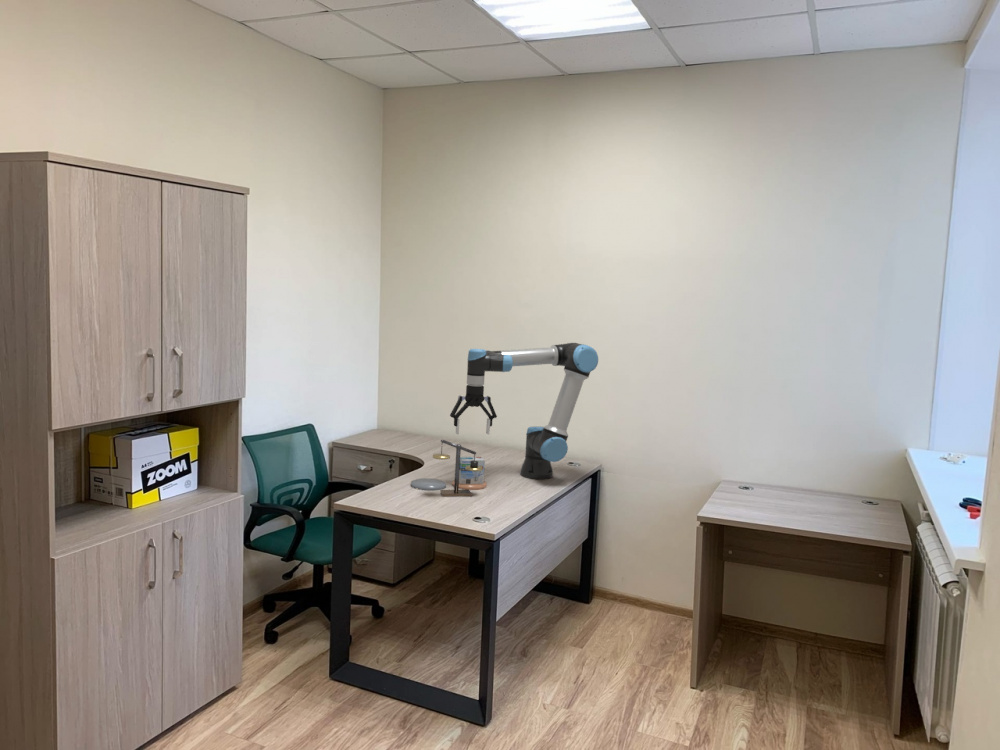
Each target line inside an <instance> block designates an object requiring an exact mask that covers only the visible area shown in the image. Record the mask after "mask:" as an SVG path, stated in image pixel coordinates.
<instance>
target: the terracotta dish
mask: <svg viewBox="0 0 1000 750" xmlns="http://www.w3.org/2000/svg"><path fill="white" fill-rule="evenodd" d="M454 482H455V479H453V480H452V482H451V485H452V487H454ZM487 483H488V482H487V481H485V480H483V484H460V483H459V488H458V490H467V489H469V491H478V490H484V489H486V488H487V487H488V486H487V485H488V484H487Z"/></svg>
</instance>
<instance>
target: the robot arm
mask: <svg viewBox="0 0 1000 750" xmlns="http://www.w3.org/2000/svg"><path fill="white" fill-rule="evenodd" d="M598 364H599V355H598V353H597V351H596V350H595V348H593V347H592V346H590V345H588V344H584V343H583V344H582V343H577V342H567V343H561V344H560V343H559V344H552V345H551V346H549V347H538V348H537V347H536V348H521V349H509V350H508V349H506V350H486V349H484V348H470V349H469V350H468V354H467V368H466V369H467V370H466V371H467V372H466V373H467V374H466V384H467V385H466V387H465V388H466V389H465V396H461V395H458V398H457V401H456V402H455V405H454V407H453V408H452V410H451V412H450V414H449V416H450V417H451V418H453V426H454V427H455V434H456V435H459V434H460V417H461V415H463V413H464V412H465V411H466V410H467V409H468V408H470V407H471V408H473V407H476V408H477V407H478V408H479V407H480V408H481V409H482V411H483V412H484V413H485V415H486V416H487V418H486V427H485V428H486V430H485V431H486V432H485V433H486V435H490V431H491V430H490V428H491V427H492V426H493V420H494V419H497V417H498V414H497V413H496V411H495V408H494V406H493V403H492V402H491V401H492V399H491V397H490V396H489V395H487V396H484V393H485V392H484V391H485V389H484V388H485V386H484V385H485V374H486V372H495V373H498V372H499V373H505V372H506V373H507V372H508V373H509V372H511V370H512V368H513V367H522V366H523V367H524V366H535V365H536V366H537V365H538V366H540V365H542V366H543V365H552V366H555V367H557V366H561V367H564V368H563V371H564V378H563V381H562V383H561V387H560V389H559V392H558V395H557V399H556V401H555V404H554V407H553V410H552V413H551V416H550V418H549V421H548V424H547V425H545V426H529V427H527V429H526V430H527V431H526V434H525V435H526V436H525V437H526V438H525V440H526V441H525V453H524V454H525V455H524V456H525V457H524V460H523V462H522V465H521V468H520V473H519V474H520V475H521V476H522V477H524V478H527V479H534V480H547V479H551V478H553V477H554V476H553V475H554V471H553V467H552V463H557V462H559V461H561V460H563V459H564V458H565V457H566V455H567V453H568V452H569V451H568V449H569V447H568V446H569V445H568V443H567V441H568V438H569V434H568V427H569V424H570V421H571V419H572V415H573V414H574V413H573V412H574V409H575V407H576V405H577V401H578V398H579V395H580V392H581V391H582V386H583V383H584V382H585V380H587V379H589V378H590V374H591V372H593V371H594V370H595V369H597V366H598ZM464 400H465V402H464ZM484 401H485V402H486V403H487V406H488V408H489V410H488V409H487V408H486V406H485V405H484V404H483V402H484ZM462 402H464V404H463V406H462V407H460V406H461V405H462ZM459 408H460V409H459ZM458 409H459V410H458ZM489 411H490V412H489ZM551 462H552V463H551Z"/></svg>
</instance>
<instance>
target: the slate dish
mask: <svg viewBox="0 0 1000 750" xmlns="http://www.w3.org/2000/svg"><path fill="white" fill-rule="evenodd" d="M410 487H411V488H413V487H414V488H413V489H416V488H418V489H417V490H420V489H422V490H421V491H440V490H445V488H446V487H447V483H446V481H445V480H444V481H443V480H442V479H436V478H425V477H424V478H416V479H413V480H411V481H410Z"/></svg>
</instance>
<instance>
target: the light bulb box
mask: <svg viewBox="0 0 1000 750" xmlns="http://www.w3.org/2000/svg"><path fill="white" fill-rule="evenodd" d="M472 460H474V456H460V471H459V483H460V484H483V481H484V477H485V464H486V460H485V459H484V458H483V457H482V456H475V461H478V466H480V467H482V471H468V470H466V469H465V468H466V466H470V461H472Z"/></svg>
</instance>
